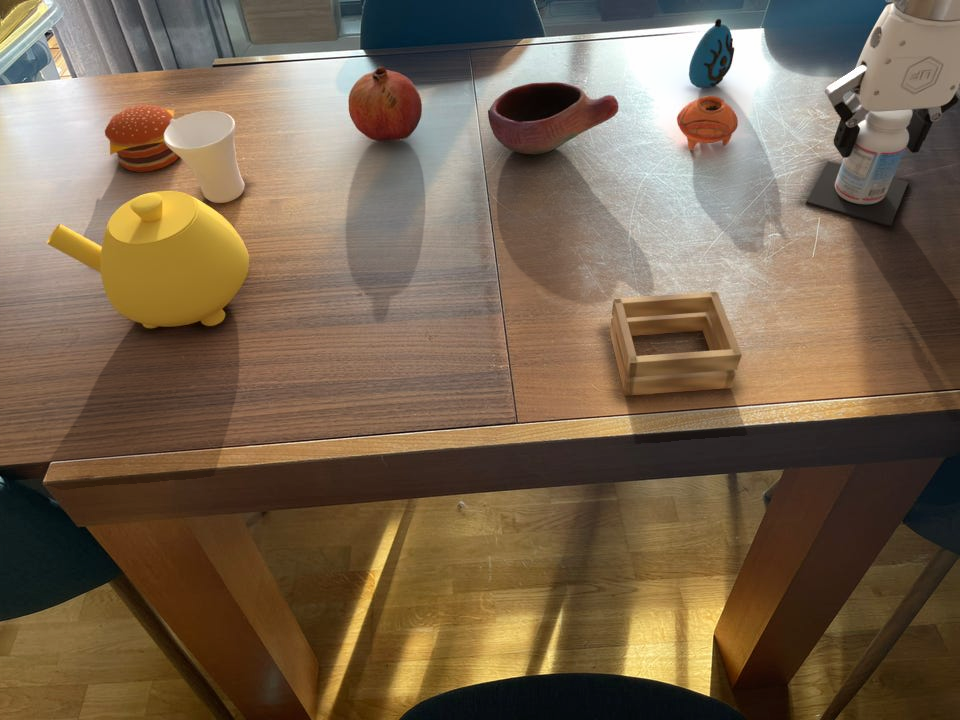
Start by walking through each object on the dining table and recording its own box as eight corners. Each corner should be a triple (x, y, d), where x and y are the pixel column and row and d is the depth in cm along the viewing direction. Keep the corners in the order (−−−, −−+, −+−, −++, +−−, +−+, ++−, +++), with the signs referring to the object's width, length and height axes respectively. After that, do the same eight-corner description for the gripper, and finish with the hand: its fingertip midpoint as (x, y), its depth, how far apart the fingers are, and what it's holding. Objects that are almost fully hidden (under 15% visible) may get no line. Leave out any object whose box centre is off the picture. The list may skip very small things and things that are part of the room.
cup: (220, 166, 103) (196, 101, 96) (269, 184, 100) (249, 118, 92) (173, 200, 99) (144, 134, 91) (223, 220, 95) (198, 153, 88)
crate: (707, 325, 79) (717, 290, 75) (731, 388, 73) (742, 354, 69) (609, 332, 79) (613, 298, 75) (624, 396, 73) (630, 362, 69)
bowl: (504, 178, 98) (503, 124, 92) (480, 129, 107) (478, 76, 101) (617, 156, 100) (623, 102, 95) (585, 110, 109) (589, 58, 103)
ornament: (702, 101, 109) (715, 34, 102) (677, 90, 111) (688, 24, 104) (736, 80, 112) (751, 14, 105) (710, 70, 115) (723, 5, 107)
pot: (737, 126, 103) (747, 88, 97) (725, 168, 100) (736, 131, 94) (680, 116, 105) (687, 78, 99) (667, 156, 102) (673, 119, 96)
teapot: (63, 351, 81) (-4, 255, 71) (109, 258, 91) (56, 162, 81) (243, 344, 80) (201, 246, 70) (269, 251, 91) (236, 154, 80)
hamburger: (118, 145, 108) (98, 104, 104) (184, 132, 110) (168, 90, 105) (118, 180, 102) (97, 137, 97) (188, 165, 104) (171, 122, 99)
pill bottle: (882, 180, 94) (917, 98, 85) (886, 209, 90) (923, 126, 81) (831, 175, 95) (861, 94, 87) (833, 203, 91) (864, 121, 83)
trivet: (907, 183, 94) (908, 181, 93) (890, 227, 88) (891, 225, 88) (826, 162, 97) (827, 160, 97) (805, 203, 92) (805, 201, 92)
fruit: (435, 144, 105) (428, 77, 97) (370, 164, 102) (357, 97, 95) (408, 110, 111) (399, 45, 104) (345, 128, 109) (332, 62, 101)
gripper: (866, 18, 72) (813, 172, 85) (1043, 5, 72) (963, 161, 85) (837, -13, 77) (792, 137, 90) (1002, -25, 77) (933, 126, 90)
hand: (875, 148), depth 88 cm, fingers open, 7 cm apart
